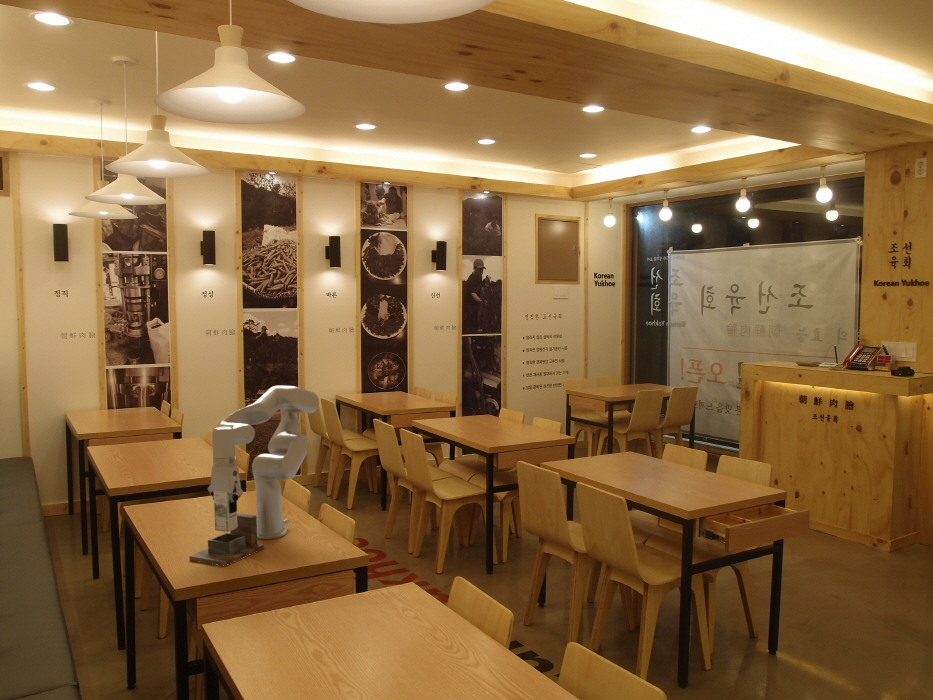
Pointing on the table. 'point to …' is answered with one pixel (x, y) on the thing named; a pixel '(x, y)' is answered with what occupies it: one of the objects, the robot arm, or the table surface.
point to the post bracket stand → (232, 543)
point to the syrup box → (223, 512)
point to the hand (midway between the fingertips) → (225, 510)
